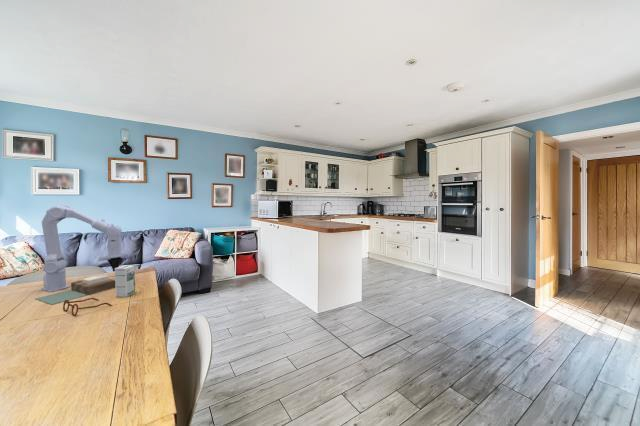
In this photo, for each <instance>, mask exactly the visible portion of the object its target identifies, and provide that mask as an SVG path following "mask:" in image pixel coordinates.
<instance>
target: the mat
mask: <svg viewBox="0 0 640 426" xmlns="http://www.w3.org/2000/svg"><path fill="white" fill-rule="evenodd" d="M87 296H88V295H86V294H83V293H79V292H76V291H72V290H71V289H69V290H64V291H60V292H57V293H52V294H48V295H45V296H39V297H36V298H34V300H37V301H40V302H42V303H45V304H47V305H51V306H53V305H58V304H60V303H64V302H65V300H69V301H73V300H75V299H80V298H82V297H87Z"/></svg>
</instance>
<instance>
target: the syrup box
mask: <svg viewBox="0 0 640 426" xmlns="http://www.w3.org/2000/svg"><path fill="white" fill-rule="evenodd" d="M135 274H136V273H135V265H132V264H126V265H121V266H119V267H118V268H115V271H114V280H115V297H119V298H127V297H129V296H132V295H134V294H136V280H135V279H136V278H135V277H136V276H135Z"/></svg>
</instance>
